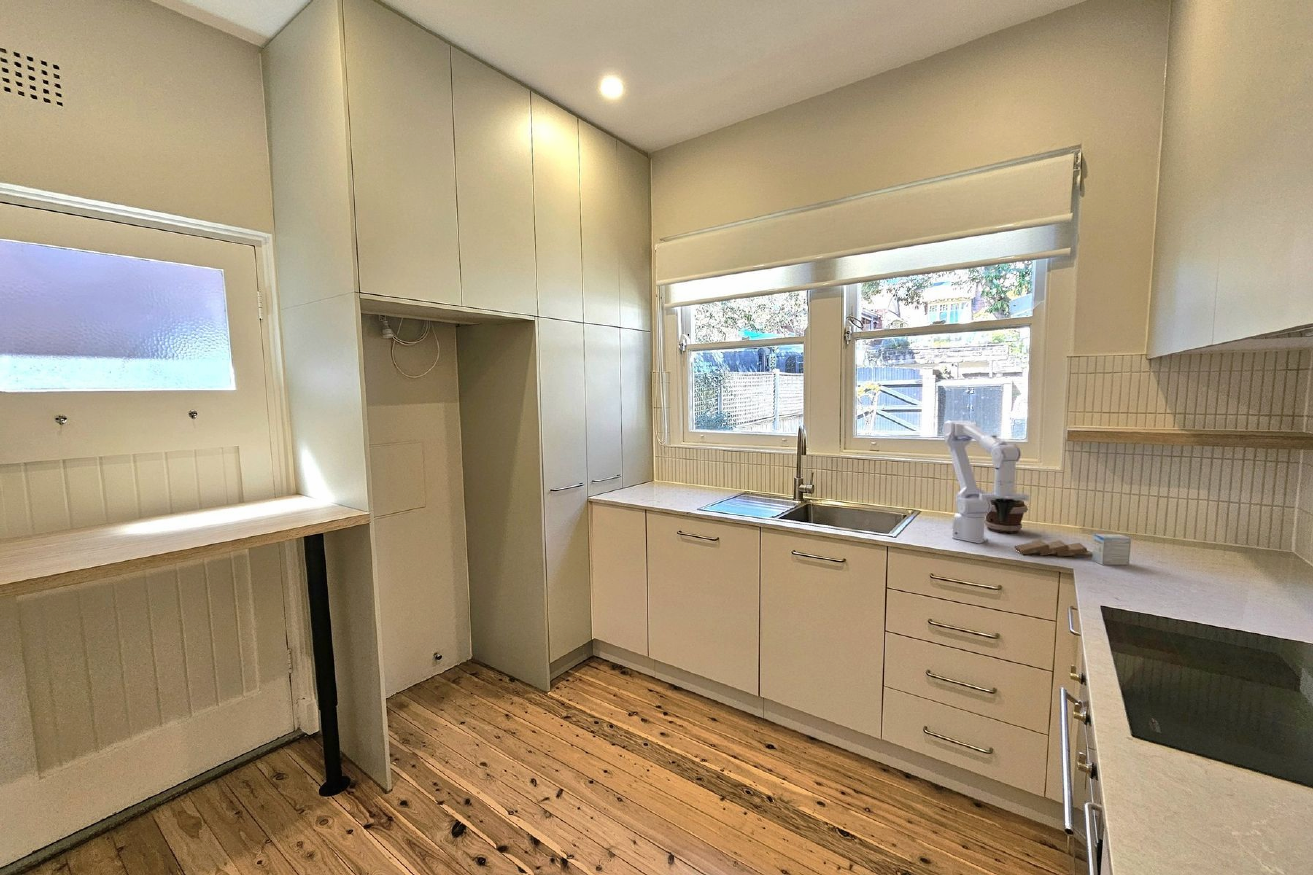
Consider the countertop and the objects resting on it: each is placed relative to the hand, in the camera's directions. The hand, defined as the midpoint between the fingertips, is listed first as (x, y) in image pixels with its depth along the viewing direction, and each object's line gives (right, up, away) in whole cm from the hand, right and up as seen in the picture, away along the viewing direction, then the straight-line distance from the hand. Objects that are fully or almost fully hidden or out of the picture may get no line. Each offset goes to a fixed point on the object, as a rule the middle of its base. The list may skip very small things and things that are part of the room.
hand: (1002, 521), depth 177 cm
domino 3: (+16, -10, -2) cm, 19 cm away
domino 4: (+19, -10, -1) cm, 22 cm away
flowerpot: (+18, -8, +28) cm, 34 cm away
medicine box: (+27, -11, -11) cm, 31 cm away
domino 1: (+5, -10, 0) cm, 11 cm away
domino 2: (+11, -10, -1) cm, 15 cm away
